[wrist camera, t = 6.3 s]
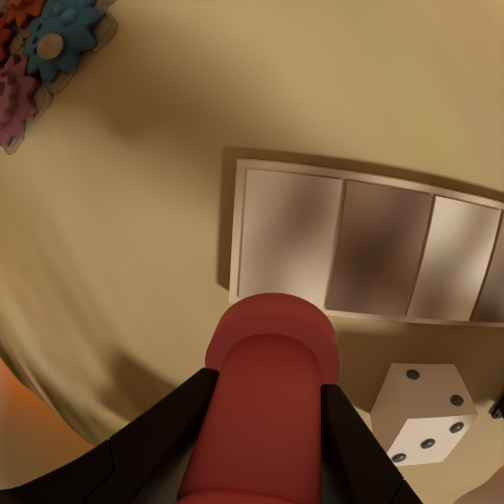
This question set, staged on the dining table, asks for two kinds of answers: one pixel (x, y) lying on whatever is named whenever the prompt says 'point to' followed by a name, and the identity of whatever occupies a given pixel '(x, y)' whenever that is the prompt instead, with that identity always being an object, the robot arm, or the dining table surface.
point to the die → (421, 412)
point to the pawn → (264, 405)
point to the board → (367, 244)
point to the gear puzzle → (43, 55)
